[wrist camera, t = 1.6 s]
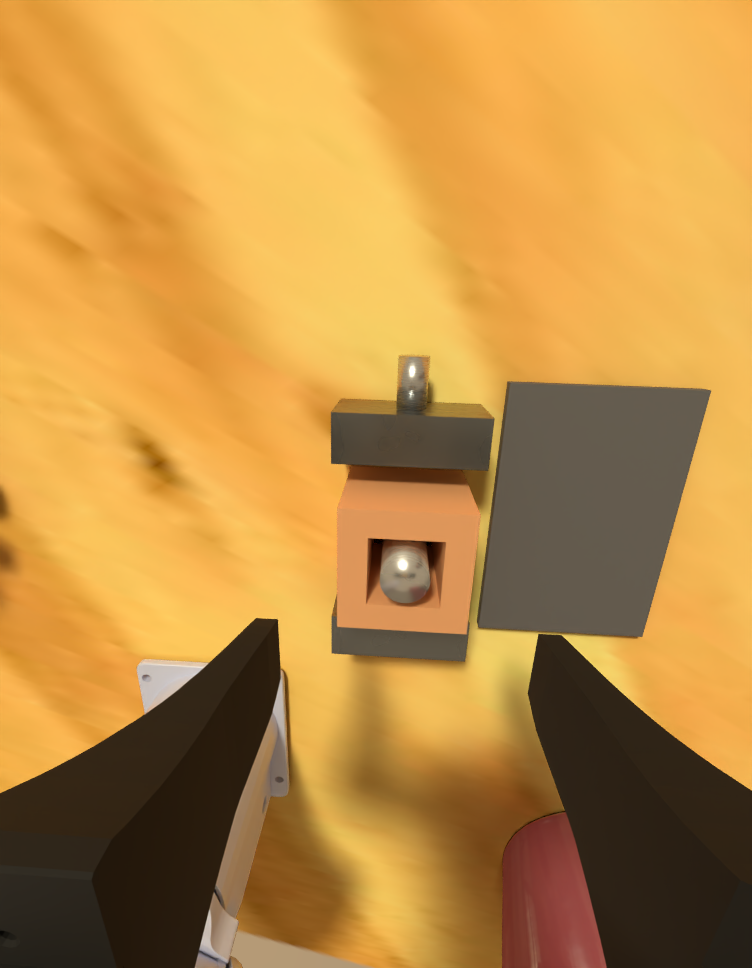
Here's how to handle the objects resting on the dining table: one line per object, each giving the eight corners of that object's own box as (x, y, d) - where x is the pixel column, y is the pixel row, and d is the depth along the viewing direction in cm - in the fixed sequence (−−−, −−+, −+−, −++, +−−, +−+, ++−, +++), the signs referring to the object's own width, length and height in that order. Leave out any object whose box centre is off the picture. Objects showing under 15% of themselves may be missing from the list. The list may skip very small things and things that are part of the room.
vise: (457, 620, 23) (473, 706, 18) (340, 613, 23) (322, 696, 18) (486, 355, 19) (518, 369, 14) (341, 350, 19) (319, 362, 14)
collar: (452, 567, 22) (466, 634, 17) (350, 562, 22) (337, 626, 18) (462, 470, 20) (480, 515, 16) (351, 465, 21) (337, 508, 16)
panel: (637, 630, 23) (642, 636, 22) (477, 621, 23) (478, 627, 23) (703, 388, 19) (711, 390, 18) (507, 381, 19) (510, 383, 19)
